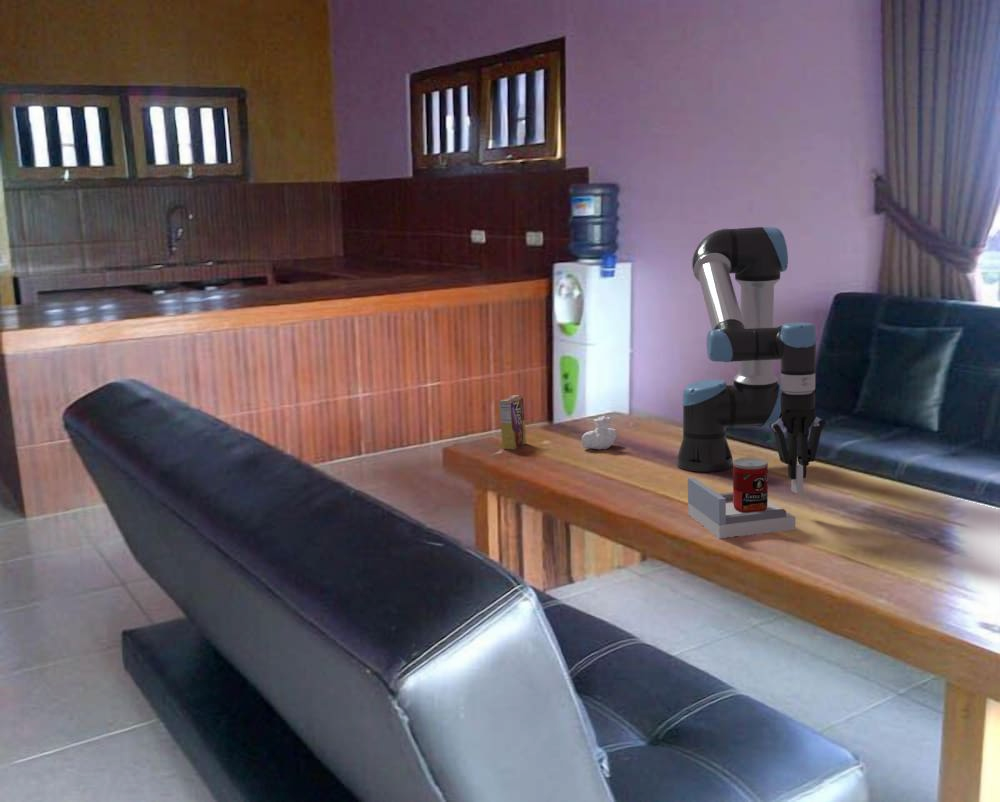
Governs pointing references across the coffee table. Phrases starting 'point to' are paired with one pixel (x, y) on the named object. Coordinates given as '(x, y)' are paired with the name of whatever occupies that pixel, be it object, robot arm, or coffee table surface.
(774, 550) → the coffee table surface
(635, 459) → the coffee table surface
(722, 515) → the dock
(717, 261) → the robot arm
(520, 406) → the candy box
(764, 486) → the canned food
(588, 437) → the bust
